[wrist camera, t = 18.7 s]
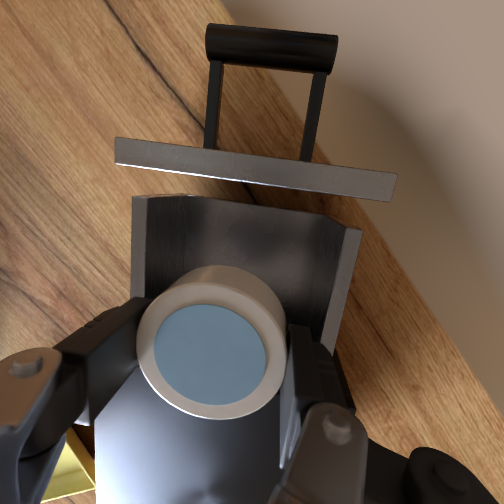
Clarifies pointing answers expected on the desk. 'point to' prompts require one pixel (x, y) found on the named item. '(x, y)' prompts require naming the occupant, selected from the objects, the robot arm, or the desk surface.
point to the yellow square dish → (71, 470)
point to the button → (214, 343)
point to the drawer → (248, 214)
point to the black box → (187, 450)
